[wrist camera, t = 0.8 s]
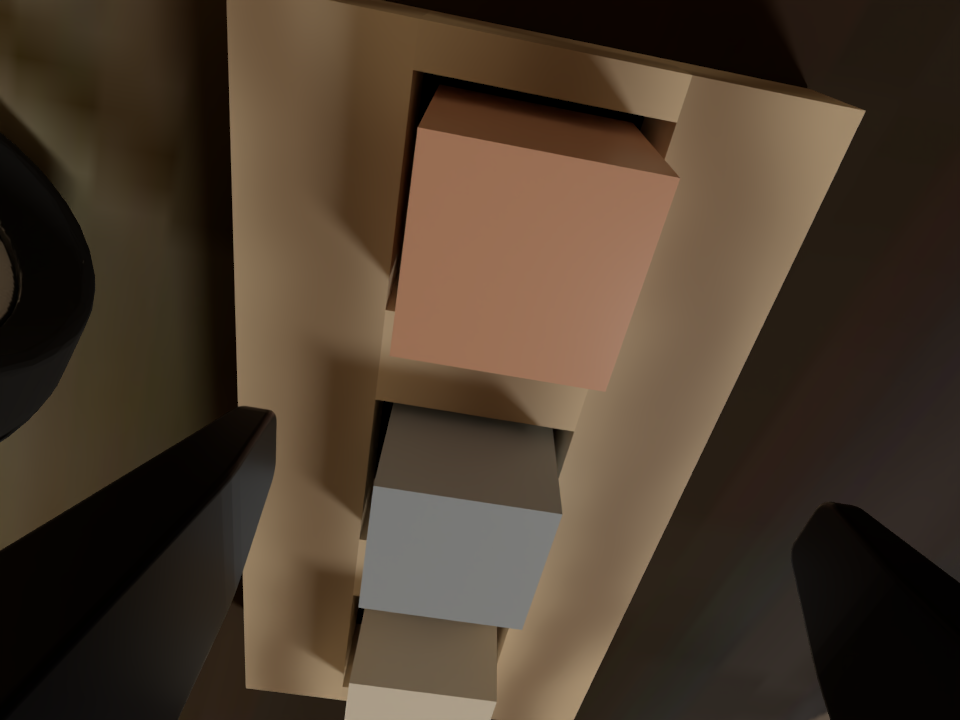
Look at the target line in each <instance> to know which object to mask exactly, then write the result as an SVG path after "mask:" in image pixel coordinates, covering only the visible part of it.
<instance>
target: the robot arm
mask: <svg viewBox="0 0 960 720" xmlns="http://www.w3.org/2000/svg"><path fill="white" fill-rule="evenodd" d="M276 432H277V419H276V415H275V413H274V412H273V411H272V410H269V409H263V408H257V407H251V406H239V407H237V408H235V409H233V410H231V411H230V412H228V413H226V414H225V415H223V416H222V417H220V418H218V419H217V420H215V421H213V422H212V423H210V424H208V425H207V426H205V427H203V428H202V429H200V430H198V431H197V432H195V433H193V434H192V435H190V436H189V437H187V438H185V439H184V440H182V441H180V442H179V443H177V444H175V445H174V446H172V447H170V448H169V449H167V450H165V451H164V452H162V453H161V454H159V455H157V456H156V457H154V458H152V459H151V460H149V461H147V462H146V463H144V464H142V465H141V466H139V467H137V468H136V469H134V470H132V471H131V472H129V473H128V474H126V475H124V476H123V477H121V478H119V479H118V480H116V481H114V482H113V483H111V484H109V485H108V486H106V487H104V488H103V489H101V490H100V491H98V492H96V493H95V494H93V495H91V496H90V497H88V498H86V499H85V500H83V501H81V502H80V503H78V504H76V505H75V506H73V507H71V508H70V509H68V510H67V511H65V512H63V513H62V514H60V515H58V516H57V517H55V518H53V519H52V520H50V521H48V522H47V523H45V524H43V525H42V526H40V527H39V528H37V529H35V530H34V531H32V532H30V533H29V534H27V535H25V536H24V537H22V538H20V539H19V540H17V541H15V542H14V543H12V544H10V545H9V546H7V547H6V548H4V549H2V550H1V551H0V720H178V718H179V716H180V713H181V711H182V709H183V707H184V705H185V703H186V700H187V698H188V696H189V694H190V692H191V690H192V687H193V685H194V683H195V681H196V679H197V677H198V674H199V672H200V670H201V668H202V666H203V664H204V661H205V659H206V657H207V655H208V653H209V651H210V649H211V646H212V644H213V642H214V640H215V638H216V636H217V633H218V631H219V629H220V627H221V625H222V623H223V620H224V618H225V616H226V614H227V612H228V609H229V607H230V604H231V602H232V600H233V597H234V595H235V592H236V590H237V587H238V584H239V581H240V578H241V575H242V572H243V569H244V566H245V563H246V560H247V557H248V554H249V551H250V548H251V545H252V542H253V539H254V536H255V533H256V530H257V526H258V523H259V520H260V517H261V514H262V511H263V508H264V505H265V502H266V499H267V496H268V493H269V490H270V487H271V483H272V480H273V476H274V472H275V465H276ZM791 563H792V568H793V573H794V578H795V582H796V587H797V591H798V596H799V600H800V605H801V609H802V614H803V618H804V623H805V628H806V632H807V637H808V641H809V646H810V650H811V655H812V659H813V663H814V667H815V671H816V675H817V679H818V682H819V685H820V689H821V692H822V696H823V699H824V702H825V705H826V708H827V711H828V714H829V717H830V720H960V583H959V582H958V581H956V580H955V579H954V578H952V577H951V576H950V575H948V574H947V573H946V572H944V571H943V570H942V569H941V568H939V567H938V566H937V565H935V564H934V563H933V562H931V561H930V560H929V559H927V558H926V557H925V556H923V555H922V554H921V553H919V552H918V551H917V550H915V549H914V548H913V547H911V546H910V545H909V544H907V543H906V542H905V541H903V540H902V539H901V538H899V537H898V536H897V535H895V534H894V533H893V532H891V531H890V530H889V529H887V528H886V527H885V526H884V525H882V524H881V523H880V522H878V521H877V520H876V519H874V518H873V517H872V516H870V515H869V514H868V513H866V512H865V511H864V510H862V509H861V508H859V507H856V506H853V505H847V504H841V503H835V502H825V503H823V504H821V505H820V506H818V507H817V509H816V510H815V512H814V513H813V515H812V516H811V518H810V519H809V521H808V522H807V524H806V525H805V527H804V528H803V530H802V531H801V533H800V534H799V536H798V537H797V539H796V540H795V542H794V544H793V547H792V551H791Z"/></svg>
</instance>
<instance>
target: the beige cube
mask: <svg viewBox="0 0 960 720" xmlns="http://www.w3.org/2000/svg"><path fill="white" fill-rule="evenodd" d="M496 703H497V626H490V625H482V624H475V623H468V622H460V621H453V620H446V619H438V618H431V617H424V616H416V615H409V614H402V613H394V612H387V611H380V610H372V609H364V614H363V619H362V624H361V629H360V633H359V638H358V643H357V648H356V652H355V657H354V662H353V667H352V672H351V676H350V681H349V688H348V696H347V704H346V712H345V720H491V717H492V714H493V711H494V708H495V706H496Z"/></svg>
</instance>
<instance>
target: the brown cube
mask: <svg viewBox="0 0 960 720" xmlns="http://www.w3.org/2000/svg"><path fill="white" fill-rule="evenodd" d="M679 181H680V177H679V176H678V175H677V174H676V172H675V171H674V170H673V169H672V168H671V167H670V165H669V164H668V163H667V162H666V161H665V160H664V159H663V157H662V156H661V155H660V154H659V153H658V152H657V150H656V149H655V148H654V147H653V146H652V145H651V143H650V142H649V141H648V140H647V139H646V138H645V136H644V135H643V134H642V133H641V132H640V131H639V129H638V128H637V127H636V126H635V125H634V124H633V123H632V122H627V121H622V120H617V119H612V118H606V117H601V116H596V115H591V114H586V113H581V112H576V111H571V110H566V109H561V108H556V107H551V106H546V105H541V104H536V103H531V102H526V101H521V100H516V99H511V98H506V97H501V96H496V95H491V94H486V93H481V92H476V91H471V90H466V89H461V88H456V87H451V86H446V85H441V84H439V86H438V88H437V90H436V92H435V94H434V96H433V98H432V100H431V102H430V104H429V106H428V108H427V110H426V112H425V114H424V116H423V118H422V120H421V122H420V124H419V126H418V129H417V138H416V146H415V154H414V162H413V170H412V178H411V186H410V194H409V202H408V210H407V218H406V227H405V235H404V243H403V251H402V259H401V267H400V275H399V283H398V291H397V299H396V307H395V316H394V324H393V332H392V340H391V348H390V356H393V357H399V358H405V359H411V360H417V361H423V362H429V363H435V364H441V365H447V366H453V367H459V368H465V369H471V370H477V371H483V372H489V373H495V374H501V375H507V376H513V377H519V378H525V379H531V380H537V381H543V382H549V383H555V384H561V385H567V386H573V387H579V388H585V389H591V390H597V391H603V392H606V389H607V386H608V383H609V380H610V378H611V375H612V372H613V369H614V366H615V363H616V360H617V358H618V355H619V352H620V349H621V346H622V343H623V340H624V338H625V335H626V332H627V329H628V326H629V323H630V320H631V318H632V315H633V312H634V309H635V306H636V303H637V301H638V298H639V295H640V292H641V289H642V286H643V283H644V281H645V278H646V275H647V272H648V269H649V266H650V263H651V261H652V258H653V255H654V252H655V249H656V246H657V243H658V241H659V238H660V235H661V232H662V229H663V226H664V223H665V221H666V218H667V215H668V212H669V209H670V206H671V204H672V201H673V198H674V195H675V192H676V189H677V186H678V184H679Z"/></svg>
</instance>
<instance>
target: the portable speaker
mask: <svg viewBox="0 0 960 720" xmlns="http://www.w3.org/2000/svg"><path fill="white" fill-rule="evenodd" d="M94 293H95V274H94V269H93V265H92V260H91V255H90V251H89V248H88V245H87V243H86V240H85V238H84V235H83V232H82V230H81V227H80V225H79V224H78V222H77V220H76V218H75V217H74V215H73V213H72V211H71V210H70V208H69V206H68V205H67V203H66V202H65V200H64V199H63V198H62V196H61V195H60V194H59V192H58V191H57V190H56V188H55V187H54V186H53V184H52V183H51V182H50V181H49V179H48V178H47V177H46V176H45V175H44V174H43V172H42V171H41V170H40V169H39V168H38V167H37V166H36V165H35V164H34V163H33V162H32V161H31V160H30V159H29V158H28V157H27V156H26V155H25V154H24V153H23V152H22V151H21V150H20V149H19V148H18V147H17V146H16V145H15V144H13V143H12V142H11V141H10V140H9V139H8V138H6V137H5V136H4V135H3V134H2V133H0V442H1V441H3V440H4V439H6V438H7V437H9V436H10V435H11V434H12V433H14V432H15V431H16V430H17V429H18V428H20V427H21V426H22V425H23V424H24V423H26V422H27V421H28V420H29V419H30V418H31V417H32V415H33V414H34V413H36V412H37V411H38V409H39V408H40V407H41V406H42V405H43V403H44V402H45V401H46V400H47V399H48V397H49V396H50V395H51V394H52V392H53V391H54V389H55V388H56V386H57V385H58V383H59V381H60V379H61V377H62V375H63V373H64V370H65V368H66V366H67V364H68V362H69V360H70V358H71V356H72V354H73V351H74V349H75V347H76V345H77V343H78V341H79V339H80V336H81V334H82V332H83V330H84V328H85V326H86V323H87V321H88V318H89V316H90V313H91V311H92V306H93V300H94Z"/></svg>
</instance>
